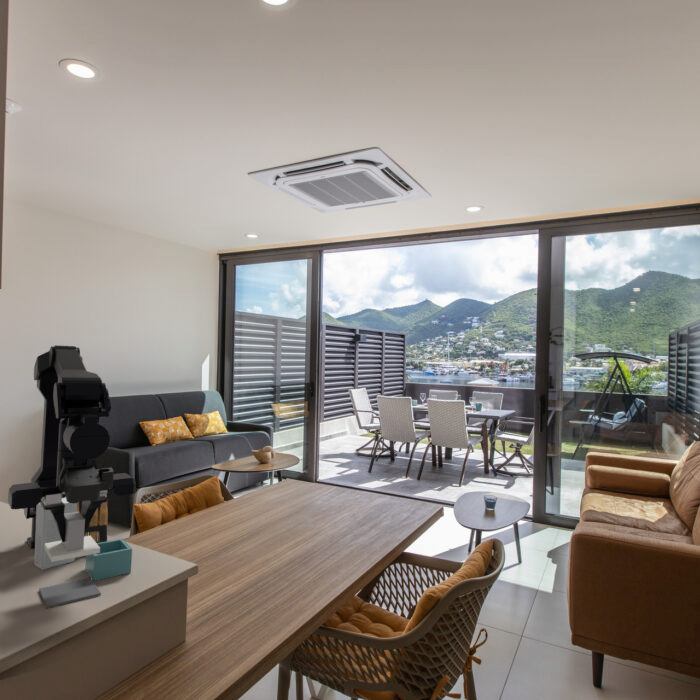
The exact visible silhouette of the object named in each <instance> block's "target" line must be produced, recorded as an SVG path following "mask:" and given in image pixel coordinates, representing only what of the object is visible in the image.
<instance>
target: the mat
mask: <svg viewBox="0 0 700 700" xmlns="http://www.w3.org/2000/svg"><path fill="white" fill-rule="evenodd" d="M38 591H39V593H40V597H41V598H42V601H43V604H44V607H45V609H51V608H54V607H59V606H63V605H66V604H70V603H76V602H79V601H83V600H88V599H91V598H95V596H96V597H99V596H98V595H100V596H101V594H102V593H101V591H100V590H99V588H98V587H97V584H96V583H95V581H93V580H92V579H91V577H90V576H89V577H85V578H83V579H82V578H81V579H77V580H72V581H67V582H63V583H59V584H53V585H49V586H45V587H40V588H39V590H38Z"/></svg>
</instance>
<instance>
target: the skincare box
mask: <svg viewBox="0 0 700 700" xmlns="http://www.w3.org/2000/svg"><path fill="white" fill-rule="evenodd" d="M61 501H62V502H63V503H64V505H65V509H64V514H65V513H72V512H77V503H69V502H67V500H66V498H62V499H61ZM56 541H61V538H60V535H59V532H58V529H57V526H56V523H55V520H54V517H53V515H52V513H51V511H50V510H44V509H43V508H42V506H41V504H40V503H39V504H38V505H36V533H35V548H34V565H35V566H36V567H38V568H39V569H41V570H42V571H44V570H47V569H50V568H51V569H52V568H55V567H58V566H61V565H62V566H63V565H65V564H69V563H73V562H75V560H76V557H75V558H70V559H65V560H60V561H54V562H51V560H50V558H49V556H48V554H47V552H46V550H45V548H44V547H45V543H50V542H56Z"/></svg>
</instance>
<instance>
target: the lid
mask: <svg viewBox="0 0 700 700" xmlns="http://www.w3.org/2000/svg"><path fill="white" fill-rule="evenodd" d="M64 517H65V531H66V535H65V542H62V541H56V542H50V543H45V547H44V548H45V550H46V552H47V554H48V556H49V558H50V560H51V562H54V561H60V560H65V559H70V558H75V559H76V558H79V557H80V558H81V557H84V556H85V557H86V555H91V554H96V553H100V547H99V546H98V545H97V543H96V542H95V541H94V539H93V538H92V537H91V536H89V535H88V536H85V537H84V528H85V519H84V517H83V516H82V515H81V511H79V512H72V513H65V514H64Z"/></svg>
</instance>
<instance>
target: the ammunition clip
mask: <svg viewBox="0 0 700 700" xmlns="http://www.w3.org/2000/svg"><path fill="white" fill-rule="evenodd" d="M106 497H107V498H108V496H107V494H106ZM65 498H66V496H65ZM82 503H83V501H81V504H82ZM99 508H100V510H99ZM80 510H81V511H80ZM108 511H109V510H108V501H107V502H103V503H102V504H101V505H100V506H99V507H98V508H97V510H96V511H95V513H94V515H93V517H92V519H91V522H90V524H89V527H88V529H87V531H86V534H85V536H91V537H92V538H93V539H94V541H95V542H96V543H101V542H106V541H108V520H109V518H108V517H109V515H108V514H109V512H108ZM77 512H80V513H81V512H82V508H81V509H80V502H78V503H77ZM85 536H84V537H85Z"/></svg>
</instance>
